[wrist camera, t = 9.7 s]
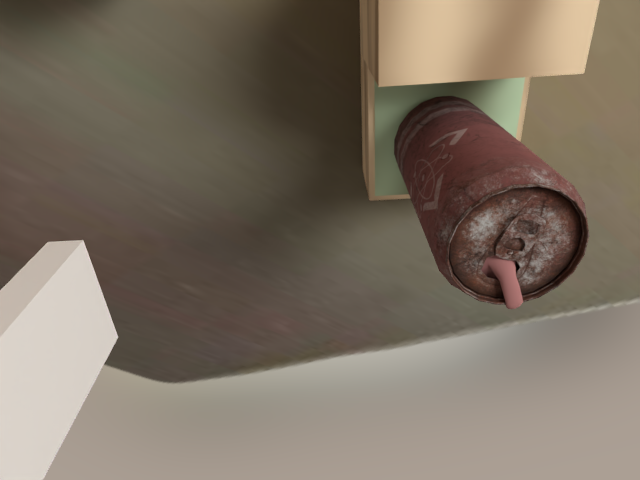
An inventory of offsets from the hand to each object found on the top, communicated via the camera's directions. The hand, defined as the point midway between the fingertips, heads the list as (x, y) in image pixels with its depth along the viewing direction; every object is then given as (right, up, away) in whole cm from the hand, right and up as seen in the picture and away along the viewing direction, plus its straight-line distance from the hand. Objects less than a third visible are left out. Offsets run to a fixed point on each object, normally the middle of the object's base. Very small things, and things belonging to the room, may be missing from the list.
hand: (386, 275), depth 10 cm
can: (+6, +7, +20) cm, 22 cm away
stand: (+6, +15, +23) cm, 28 cm away
